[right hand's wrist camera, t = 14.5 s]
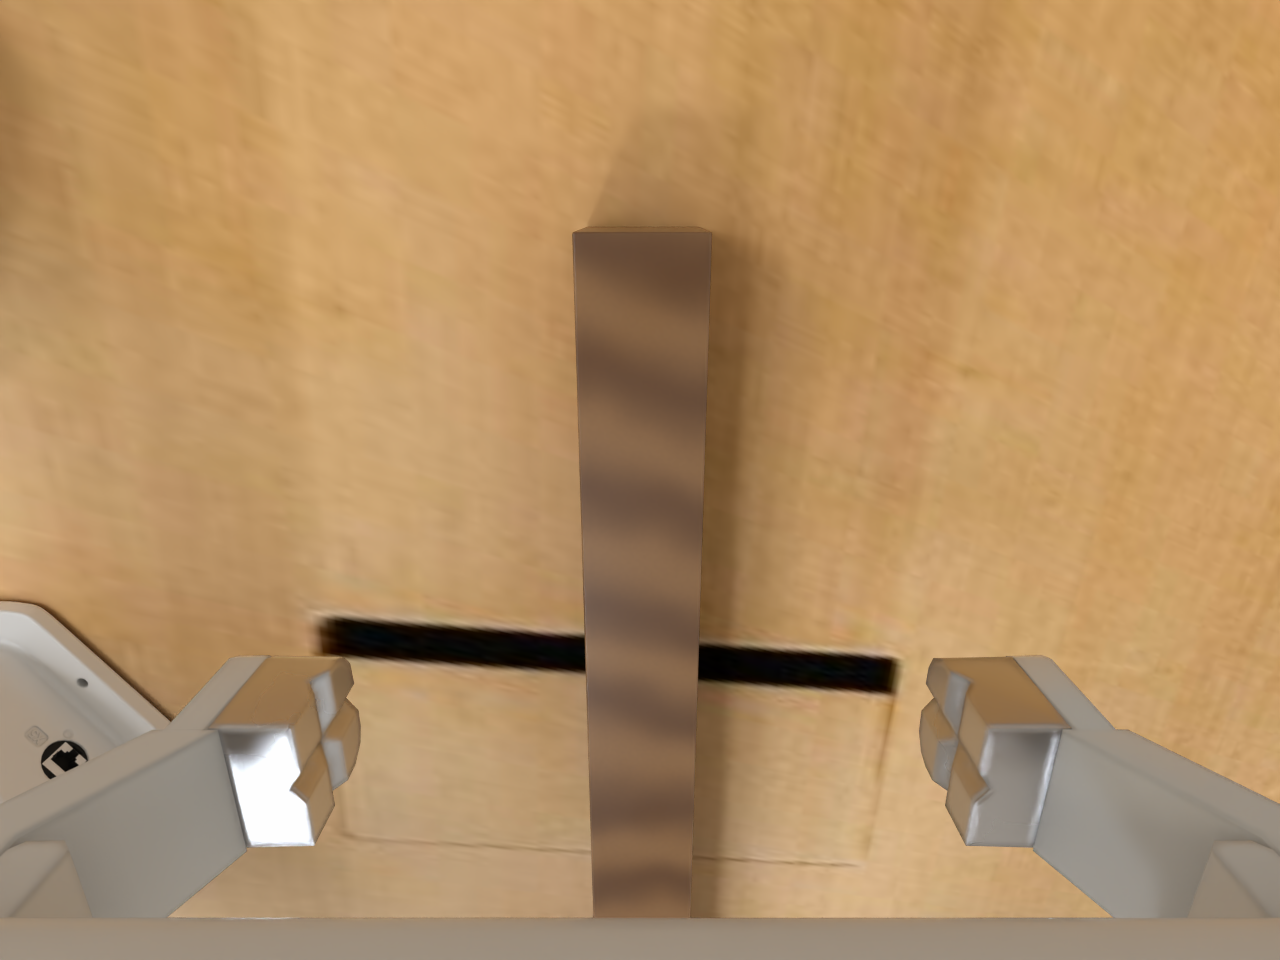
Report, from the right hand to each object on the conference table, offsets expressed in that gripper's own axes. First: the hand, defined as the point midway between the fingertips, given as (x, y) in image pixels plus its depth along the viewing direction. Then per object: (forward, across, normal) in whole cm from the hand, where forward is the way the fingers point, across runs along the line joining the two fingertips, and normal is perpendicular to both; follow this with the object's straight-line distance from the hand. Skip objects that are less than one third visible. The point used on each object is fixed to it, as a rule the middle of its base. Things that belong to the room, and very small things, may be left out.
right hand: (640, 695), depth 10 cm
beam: (+26, 0, -32) cm, 41 cm away
